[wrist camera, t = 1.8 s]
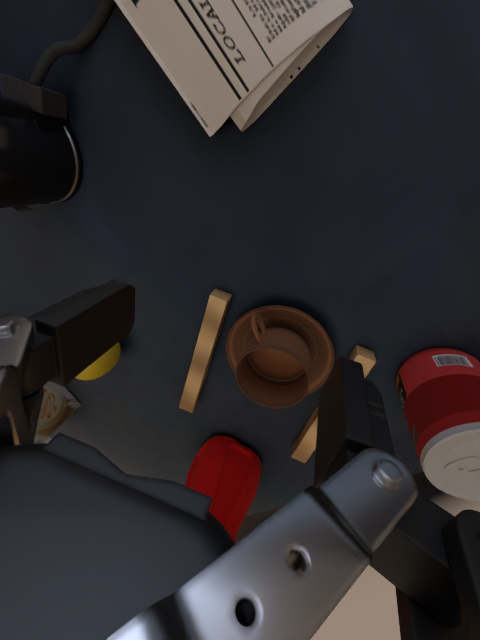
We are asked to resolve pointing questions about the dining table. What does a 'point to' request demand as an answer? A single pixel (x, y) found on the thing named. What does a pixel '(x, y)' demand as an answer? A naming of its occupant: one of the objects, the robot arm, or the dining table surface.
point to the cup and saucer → (279, 355)
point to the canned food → (444, 417)
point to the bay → (205, 352)
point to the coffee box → (54, 410)
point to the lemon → (101, 364)
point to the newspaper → (233, 49)
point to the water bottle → (226, 479)
